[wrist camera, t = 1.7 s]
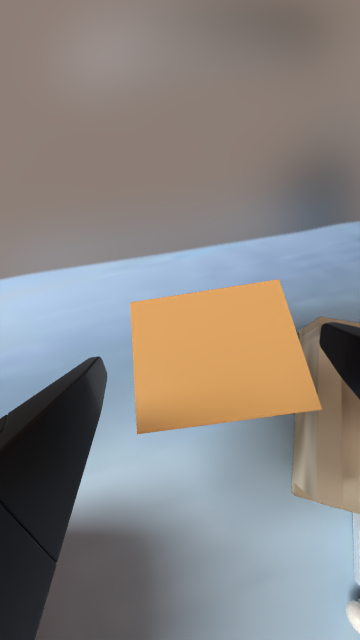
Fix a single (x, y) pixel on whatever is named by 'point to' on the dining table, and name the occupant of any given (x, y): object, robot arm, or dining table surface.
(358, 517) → the clip
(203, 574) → the dining table surface
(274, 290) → the orange-topped block
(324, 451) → the holder
